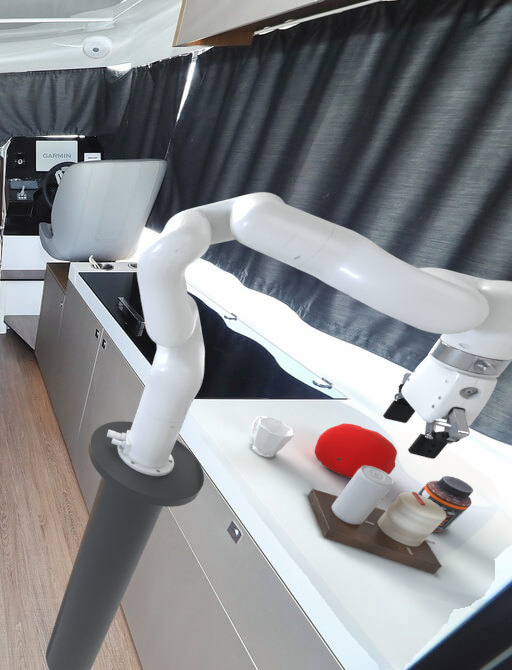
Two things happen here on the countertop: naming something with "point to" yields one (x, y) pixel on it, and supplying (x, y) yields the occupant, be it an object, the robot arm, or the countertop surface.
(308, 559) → the countertop surface
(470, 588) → the countertop surface
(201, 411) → the countertop surface
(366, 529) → the dial plaque
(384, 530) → the cream dial knob
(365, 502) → the beverage can
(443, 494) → the supplement bottle
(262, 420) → the cup
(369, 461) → the tomato
